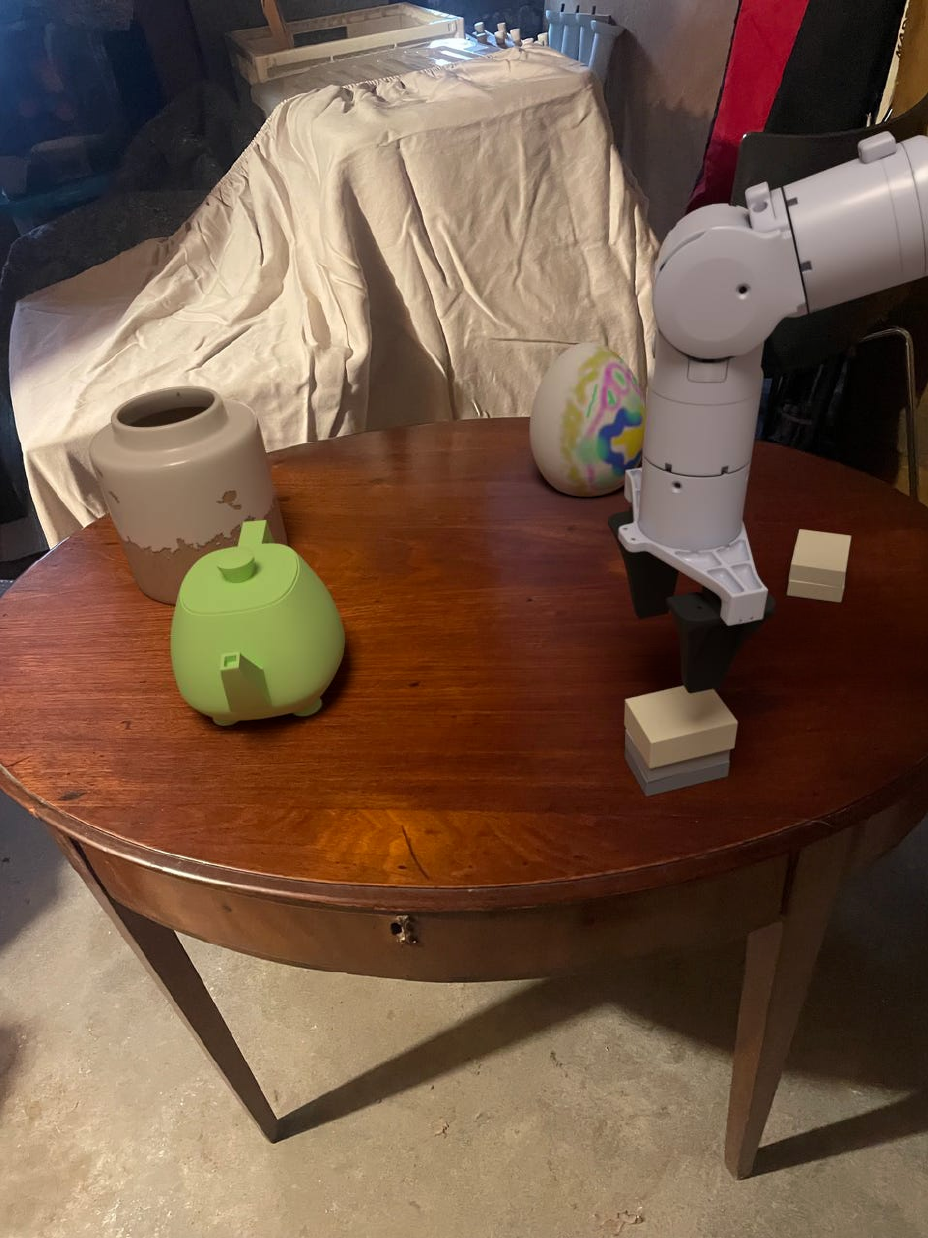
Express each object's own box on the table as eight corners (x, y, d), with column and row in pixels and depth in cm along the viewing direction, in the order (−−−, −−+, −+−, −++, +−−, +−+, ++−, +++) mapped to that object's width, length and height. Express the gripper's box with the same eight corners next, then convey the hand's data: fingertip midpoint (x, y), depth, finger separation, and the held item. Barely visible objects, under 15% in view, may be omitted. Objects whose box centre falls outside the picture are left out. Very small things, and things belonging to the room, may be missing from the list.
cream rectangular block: (704, 705, 61) (707, 679, 60) (734, 748, 58) (738, 721, 56) (623, 724, 61) (624, 699, 59) (649, 769, 57) (650, 743, 56)
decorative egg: (592, 519, 89) (593, 377, 80) (508, 483, 96) (500, 349, 87) (668, 475, 95) (676, 338, 86) (583, 444, 102) (583, 315, 94)
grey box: (702, 738, 63) (705, 707, 61) (728, 777, 60) (733, 746, 58) (623, 757, 62) (624, 726, 60) (645, 798, 59) (647, 767, 57)
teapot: (349, 764, 64) (317, 627, 56) (166, 786, 64) (109, 652, 56) (354, 606, 80) (329, 483, 72) (208, 623, 80) (168, 502, 72)
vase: (113, 563, 90) (54, 410, 80) (246, 509, 97) (207, 361, 87) (173, 628, 80) (114, 461, 70) (317, 561, 87) (282, 401, 77)
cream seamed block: (792, 558, 80) (797, 528, 78) (845, 565, 79) (851, 534, 77) (785, 595, 76) (790, 564, 74) (841, 603, 74) (848, 572, 72)
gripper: (581, 411, 52) (577, 596, 61) (684, 531, 41) (662, 739, 49) (691, 394, 53) (672, 578, 62) (821, 507, 42) (777, 714, 50)
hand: (675, 648), depth 55 cm, fingers open, 7 cm apart
